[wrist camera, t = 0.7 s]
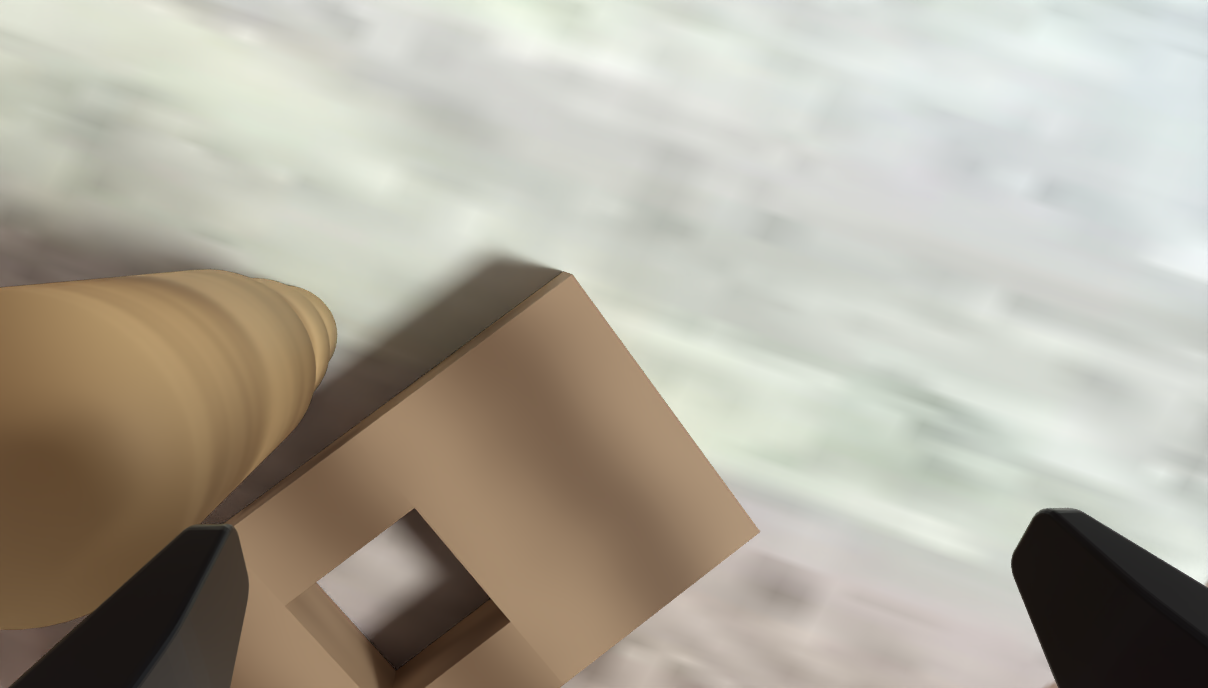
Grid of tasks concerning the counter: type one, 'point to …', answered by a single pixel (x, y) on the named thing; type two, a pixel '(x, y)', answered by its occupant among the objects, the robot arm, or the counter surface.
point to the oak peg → (137, 420)
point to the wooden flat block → (495, 511)
